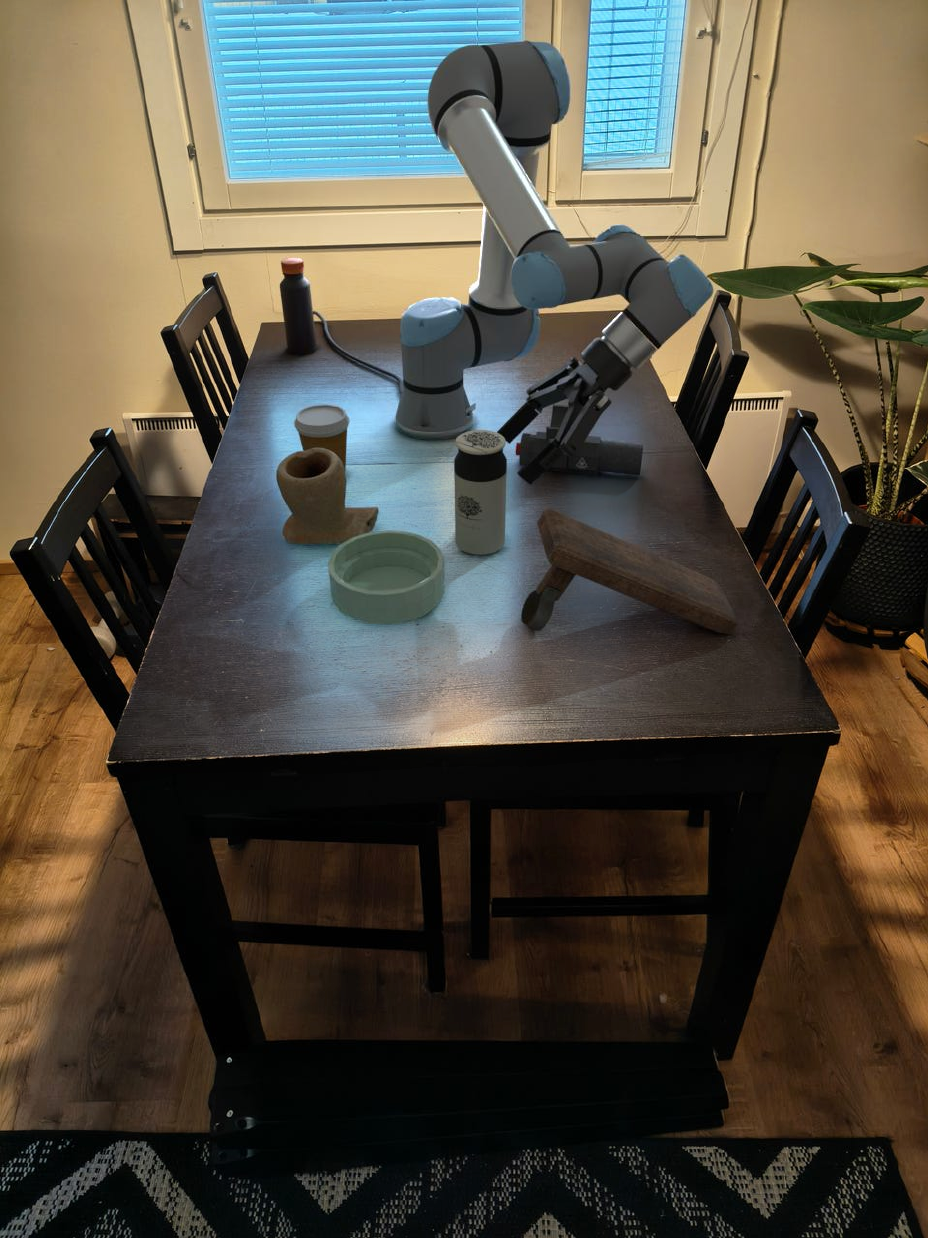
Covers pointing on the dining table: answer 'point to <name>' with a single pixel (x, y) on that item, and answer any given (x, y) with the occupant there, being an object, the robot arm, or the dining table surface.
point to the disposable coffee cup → (323, 429)
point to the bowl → (386, 577)
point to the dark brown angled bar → (621, 575)
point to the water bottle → (297, 307)
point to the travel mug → (480, 492)
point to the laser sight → (583, 451)
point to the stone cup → (319, 500)
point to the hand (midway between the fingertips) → (512, 457)
